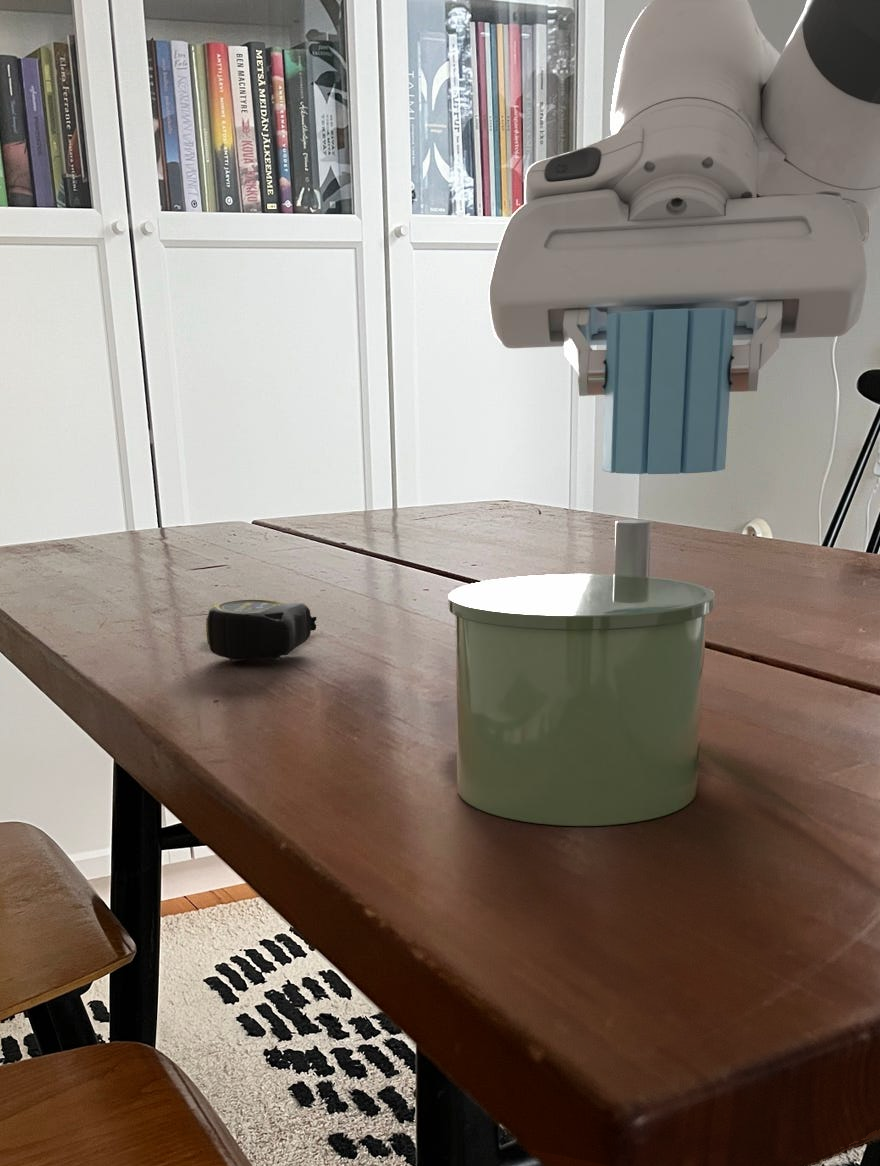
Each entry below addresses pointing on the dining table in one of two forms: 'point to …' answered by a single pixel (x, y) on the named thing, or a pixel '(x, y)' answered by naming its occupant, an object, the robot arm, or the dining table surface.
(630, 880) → the dining table surface
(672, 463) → the blue grooved hollow cylinder
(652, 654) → the pot
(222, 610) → the tape measure
